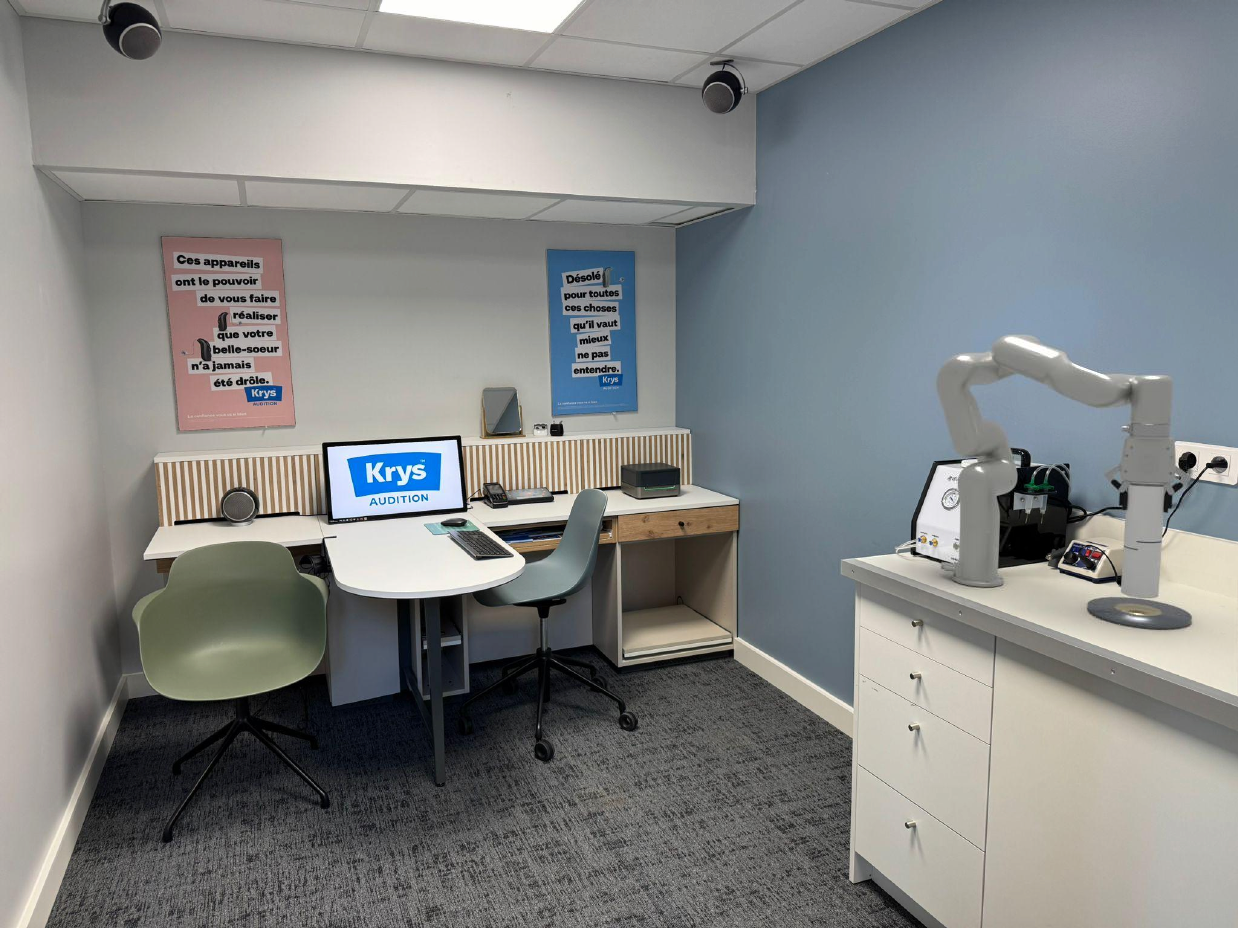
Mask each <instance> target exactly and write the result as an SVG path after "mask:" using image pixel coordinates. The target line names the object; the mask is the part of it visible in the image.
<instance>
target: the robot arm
mask: <svg viewBox="0 0 1238 928" xmlns="http://www.w3.org/2000/svg"><path fill="white" fill-rule="evenodd" d="M1016 374H1017V375H1019V376H1022V377H1025V378H1027V379H1031V380H1033V381H1035V382H1038V383H1041V384H1042V385H1045V386H1047V387H1048V388H1050V389H1051V390H1053V391H1055V392H1056V393H1057V394H1059V395H1061V396H1064V397H1066V398H1068V399H1069V400H1070V399H1071V400H1073V401H1076V402H1078V403H1080V404H1083V405H1086V406H1088V407H1090V408H1091V407H1092V408H1094V409H1101V410H1102V409H1110V408H1111V409H1112V408H1120V407H1128V406H1130V412H1129V413H1130V417H1129V424H1126V425H1121V432H1123V433H1128V436H1125V438H1124V440H1123V445H1122V446H1123V447H1122V451H1121V458H1120V462H1119V463H1118V464H1116V465H1115V466H1113V467H1112V468H1110V469H1108V470H1107V471H1106V472H1104V477H1105V478H1106V479H1107V481H1108V482H1110V484H1111V485H1112V486H1113V487H1114V488H1115V489H1116V490H1117V491H1119V493H1118V494H1119V495H1118V496H1119V497H1118V506H1119V507H1121V506H1122V507H1121V509H1122V511H1126V509H1127V487H1128V486H1129V484H1130V483H1131V482H1134V483H1154V484H1163V485H1164V486H1165V500H1164V514H1167V513H1169V509H1172V507H1173V496H1174V494H1176V492H1178V491H1179V490H1181V489H1183V487H1184V486H1185V485H1187V484H1188V483H1189V482H1190V481H1191V480H1192V477H1191V476H1190V475H1189V474H1188V473H1186V472H1185V471H1183V469H1181V468H1180V467H1179V466H1178V465H1177V463H1176V462H1177V461H1176V459H1177V458H1176V455H1177V454H1176V444H1175V443H1176V442H1175V438H1174V437H1171V436H1170V435H1171V424H1172V423H1171V420H1172V407H1173V406H1172V404H1173V390H1174V381H1173V378H1172V377H1171V376H1169V375H1166V374H1165V375H1164V374H1143V375H1141V374H1140V375H1132V374H1125V373H1109V374H1103V373H1099V372H1097V371H1093V370H1091V369H1088V368H1085V367H1083V366H1080V365H1079V364H1078V365H1077V364H1075V363H1074V362H1072V361H1071V360H1070V359H1069V358H1068V355H1067V353H1066V352H1064V351H1062V350H1060V349H1056V348H1053V347H1050V346H1048V345H1044V344H1042V342H1041V341H1040V340H1039V338H1037V337H1035V336H1033V335H1031V334H1007V335H1004V336H1001V337H1000V338H998V339H996V340H995V341H994V343H993V345H992V347H991V349H990V350H988V351H985V352H964V353H959V354H955V355H953V356H951V357H950V358H948V359H947V360H946V361H945V362H943V364H942V365H941V366H940V368H939V371H938V373H937V376H936V379H935V380H936V382H935V385H936V387H935V388H936V391H937V392H936V393H937V397H938V399H939V402H940V405H941V408H942V411H943V414H944V419H945V423H946V425H947V430H948V433H949V434H948V435H949V437H950V440H951V444H952V447H953V450H954V451H955V453H956V454H957V455H958V456H959V457H961V458H965V459H973V458H975V459H976V461H977V462H973V463H970V464H968V465H966V466H965V467H963V469H962V470H961V471H960V473H959V475H958V477H957V491H958V497H959V541H958V542H959V544H958V560H957V562H956V561H954V562H953V563H952V562H945V561H944V562H943V561H941V564H940V570H944V571H946V572H953V573H952V574H951V579H952V581H954V582H955V581H956V583H958V584H962V585H964V584H965V586H971V587H978V588H979V587H981V588H988V587H989V588H992V587H993V588H994V587H998V586H999V587H1000V586H1002V585H1003V584H1005V578H1004V577H1003V576H1002V575H999V574H998V573H999V571H998V570H999V554H1000V553H999V548H1000V529H1001V528H1000V524H1001V523H1000V521H1001V515H1000V514H1001V513H1000V507H999V503H998V498H997V496H1001V495H1005V494H1008V493H1009V492H1011V491H1012V490H1013V489H1014V488H1015V487H1016V485H1017V482H1018V471H1017V466H1016V463H1015V459H1014V455H1013V451H1012V449H1011V445H1010V442H1009V439H1008V435H1007V433H1006V432H1005V431H1006V430H1004V428H1002V426H1001V425H1000V424H999V423H998V422H995V421H993V420H989V419H983V417H982V415H981V411H980V409H979V404H978V402H977V400H976V398H975V396H974V395H973V394H972V391H971V390H970V389H971V388H970V387H971V386H985V385H986V386H987V385H991V384H994V383H998V382H1000V381H1002V380H1004V379H1006V378H1010V377H1012V376H1014V375H1016ZM1117 473H1119V475H1120V479H1121V480H1122V481H1121V482H1119V481H1118V480H1117V479H1116V478H1115V475H1116V474H1117ZM1176 475H1177V476H1179V477H1180V480H1178V481H1177V482H1175V483H1174V481H1175V479H1176ZM1171 483H1174V484H1172V485H1171Z"/></svg>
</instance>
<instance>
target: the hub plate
mask: <svg viewBox="0 0 1238 928" xmlns="http://www.w3.org/2000/svg"><path fill="white" fill-rule="evenodd" d="M1086 604H1087V605H1086V610H1088V611H1087V612H1088V614H1090V615H1091V614H1092V615H1091V616H1093V617H1095V616H1096V617H1095V618H1096V619H1099V618H1100V619H1099V620H1102V619H1103V620H1102V621H1104V620H1105V622H1108V621H1109V622H1108V623H1111V624H1116V625H1119V624H1120V625H1119V626H1123V627H1124V626H1125V627H1130V628H1135V629H1145V630H1159V631H1161V630H1162V631H1164V630H1165V631H1167V630H1170V631H1171V630H1180V629H1184V628H1188V627H1190V625H1191V624H1192V623H1193V622H1192V620H1193V619H1192V618H1193V617H1192V614H1191V613H1189V612H1188V611H1187V610H1185V609H1183V608H1181V607H1178V606H1175V605H1172V604H1168V603H1165V602H1162V601H1161V602H1160V601H1156V600H1150V599H1146V598H1137V597H1124V596H1123V597H1122V596H1107V597H1106V596H1105V597H1098V598H1094V599H1091V600H1089V601H1088V602H1087V603H1086Z"/></svg>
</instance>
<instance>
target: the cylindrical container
mask: <svg viewBox="0 0 1238 928" xmlns="http://www.w3.org/2000/svg"><path fill="white" fill-rule="evenodd" d="M1165 491H1166V489H1165V486H1164V485H1163V484H1154V483H1134V482H1131V483H1130V484H1129V486H1128V487H1127V489H1126V492H1127V509H1126V510H1125V518H1124V519H1125V520H1124V536H1123V550H1122V551H1123V555H1122V570H1121V583H1120V584H1121V586H1120V588H1121V589H1120V593H1121V594H1123V595H1125V596H1129V597H1130V598H1138V599H1156V598H1159V593H1160V592H1159V591H1160V576H1161V575H1160V574H1161V563H1162V562H1161V561H1162V547H1163V545H1162V544H1163V543H1162V542H1163V529H1164V517H1165V516H1164V514H1165V512H1164V500H1165Z"/></svg>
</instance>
